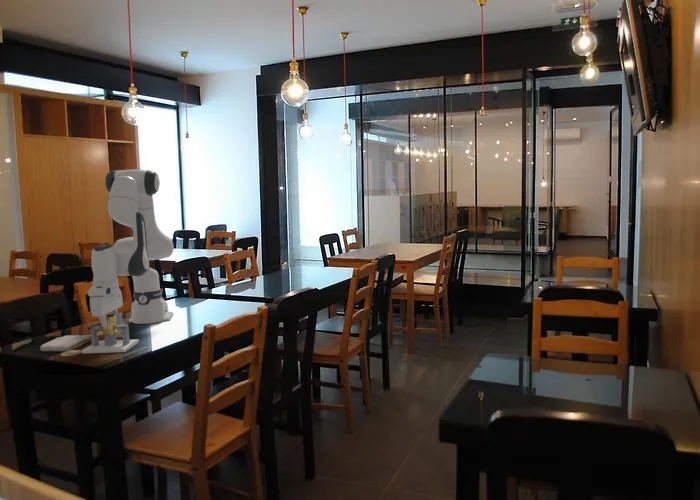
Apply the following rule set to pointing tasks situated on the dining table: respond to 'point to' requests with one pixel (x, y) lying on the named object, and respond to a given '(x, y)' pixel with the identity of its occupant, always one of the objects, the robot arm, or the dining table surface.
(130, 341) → the white peg board
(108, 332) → the bayonet cap
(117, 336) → the flask
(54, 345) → the washcloth
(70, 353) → the cork coaster
